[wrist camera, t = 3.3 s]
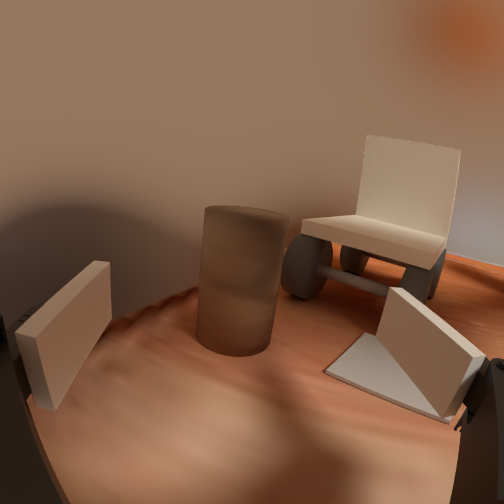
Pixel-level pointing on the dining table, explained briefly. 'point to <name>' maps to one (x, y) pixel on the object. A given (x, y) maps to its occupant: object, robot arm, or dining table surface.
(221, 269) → the cylindrical block
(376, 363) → the pad
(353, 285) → the trolley
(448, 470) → the dining table surface
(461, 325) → the dining table surface
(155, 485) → the dining table surface
